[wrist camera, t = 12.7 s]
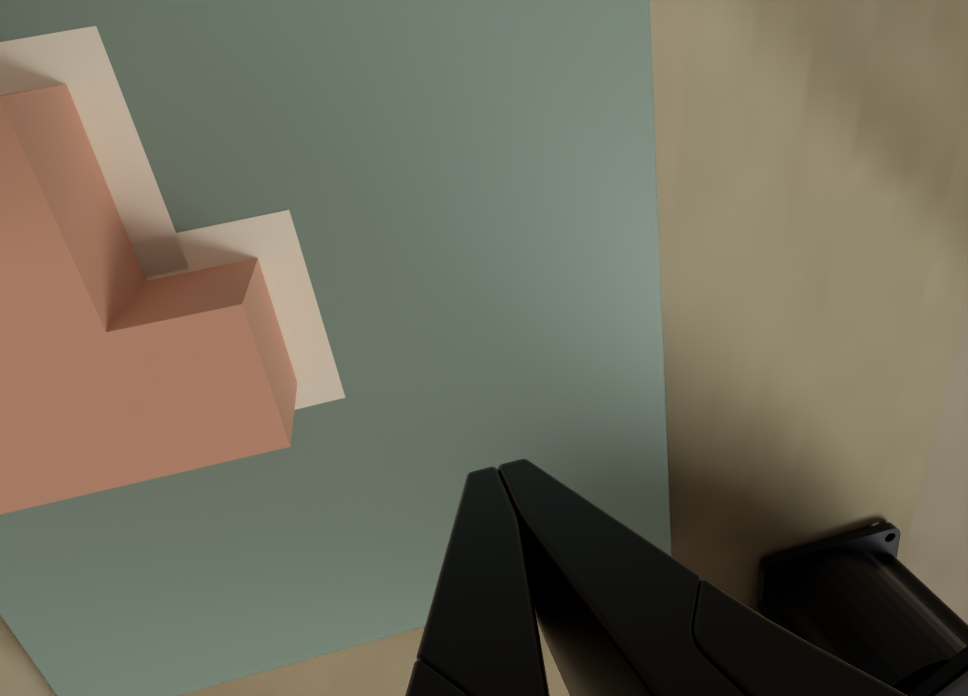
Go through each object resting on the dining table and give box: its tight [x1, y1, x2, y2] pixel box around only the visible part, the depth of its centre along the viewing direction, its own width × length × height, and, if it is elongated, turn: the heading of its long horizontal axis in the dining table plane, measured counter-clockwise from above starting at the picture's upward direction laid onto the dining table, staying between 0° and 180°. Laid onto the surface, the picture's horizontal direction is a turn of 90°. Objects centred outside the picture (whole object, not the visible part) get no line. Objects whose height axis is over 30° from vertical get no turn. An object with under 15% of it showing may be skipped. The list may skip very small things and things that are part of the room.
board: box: [0, 0, 671, 696], centre depth 20 cm, size 23×24×1 cm
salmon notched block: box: [0, 84, 297, 515], centre depth 16 cm, size 10×9×4 cm
